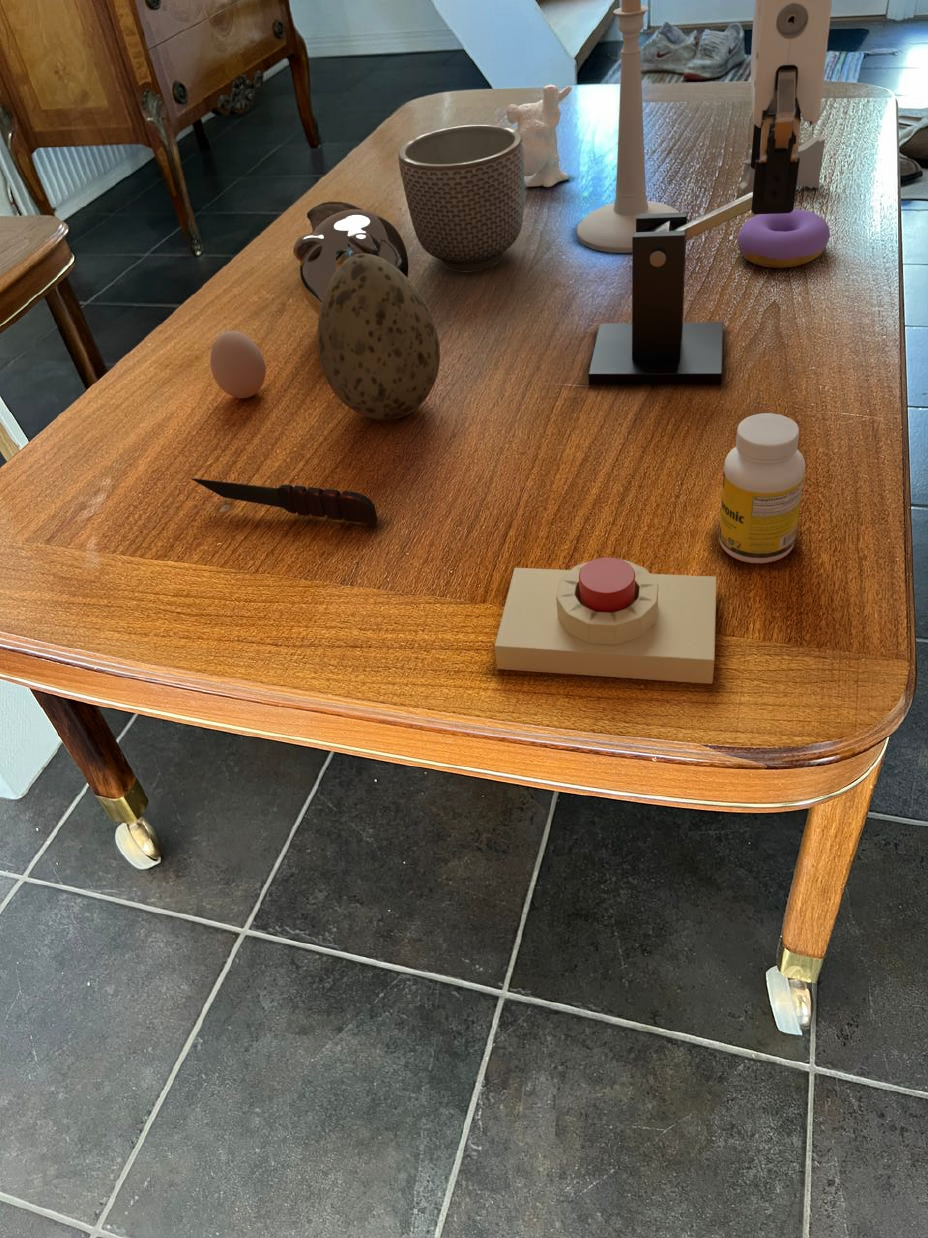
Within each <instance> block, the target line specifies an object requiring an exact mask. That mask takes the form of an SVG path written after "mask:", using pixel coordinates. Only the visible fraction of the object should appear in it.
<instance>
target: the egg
mask: <svg viewBox="0 0 928 1238" xmlns="http://www.w3.org/2000/svg"><path fill="white" fill-rule="evenodd" d="M210 369H211V373H212V376H213V379H214V381H215V382H216V384H217V386H218V387H219V388H220V390H222V391H223V392H224V393H226V394H227V395H229V396H232V397H233V398H237V399H248V398H251V397H253V396H255V395H256V394H257V393H258V392H259V391H260V389H261V388H262V386H263V384H264V382H265V379H266V373H267V372H266V370H267V369H266V362H265V359H264V357H263V354H262V352H261V350H260V348H259V347H258V346H257V344H256V343H255V342H254V341H253V340H252V338H250V337H249V336H248V335H246V334H245V333H243V332H241V331H237V330H226V331H224V332H222V333H220V334H219V335H218V336H217V337H216V339H215V341H214V342H213V344H212V346H211V352H210Z"/></svg>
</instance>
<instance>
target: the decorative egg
mask: <svg viewBox="0 0 928 1238" xmlns="http://www.w3.org/2000/svg"><path fill="white" fill-rule="evenodd" d="M317 350H318V357H319V362H320V366H321V369H322V372H323V374H324V377H325V379H326V381H327V384H328V385H329V387H330V389H331V390H332V392H333V393H334V395H335V396H336V397H337V398H338V399H339V400H340V401H341V402H342V403H343V404H344V405H345V406H346V407H348V408H349V409H351V410H352V411H353V412H355V413H357V414H359V415H361V416H363V417H366V418H369V419H372V420H378V421H379V420H380V421H387V420H388V421H389V420H391V421H392V420H396V419H399V418H402V417H405V416H407V415H409V414H410V413H412V412H413V411H415V410H417V408H419V407H420V406H421V405H422V404H423V403H424V401H425V400H426V399H427V398H428V396H429V395H430V393H431V392H432V390H433V388H434V386H435V383H436V381H437V378H438V375H439V370H440V363H441V347H440V340H439V334H438V330H437V327H436V324H435V321H434V319H433V316H432V313H431V311H430V309H429V307H428V306H427V303H426V301H425V300H424V298H423V296H422V295H421V294H420V292H419V290H418V289H417V288H416V287H415V285H414V284H413V282H412V281H411V280H410V279H409V277H408V278H407V277H406V276H405V275H404V274H403V273H402V272H401V271H400V270H399V269H397V268H396V267H395V266H394V265H392V264H391V263H389V262H388V261H386V260H385V259H383V258H381V257H378V256H375V255H372V254H357V255H354V256H351V257H350V258H348V259H347V260H345V261H344V262H343V263H342V264H341V265H340V266H339V268H338V269H337V270H336V271H335V273H334V274H333V276H332V278H331V280H330V281H329V284H328V286H327V288H326V290H325V293H324V296H323V299H322V303H321V307H320V313H319V315H318V320H317Z"/></svg>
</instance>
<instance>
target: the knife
mask: <svg viewBox="0 0 928 1238" xmlns="http://www.w3.org/2000/svg"><path fill="white" fill-rule="evenodd" d="M191 480H192V481H194V482H195V483H197V484H199V485H201V486H202V487H204V488H206V489H208V490H210V492H214V493H215V494H217V495H218V496H219V497H221V498H223V499H224V498H225V499H231V500H235V501H241V502H247V503H252V504H258V505H264V506H269V507H275V508H280V509H281V508H282V509H284V510H285V511H286V512H287V513H290V514H293V515H296V514H297V515H299V516H305V517H309V516H311V517H315V518H325V517H326V518H328V519H329V520H335V521H336V520H337V521H342V520H344V521H346V522H349V523H350V522H351V523H362V524H364V525H366V526H368V527H369V528H371V529H373V528H374V527H375V526H376V524H377V523H378V521H379V518H378V515H377V510H376V506H375V504H374V502H373V501H372V499H370V498H369V497H367V496H366V495H364V494H363V493H359V492H356V491H352V490H351V491H350V490H342V492H341V491H340V490H339V489H333V488H325V489H323V488H321V487H314V486H308V487H306V486H305V485H294V486H293V484H281V485H280V486H279V487H273V486H272V487H271V486H264V485H263V486H262V485H255V484H246V483H237V482H230V481H229V482H228V481H220V480H212V479H203V478H191Z"/></svg>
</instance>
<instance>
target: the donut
mask: <svg viewBox="0 0 928 1238" xmlns="http://www.w3.org/2000/svg"><path fill="white" fill-rule="evenodd" d="M830 232H831V230H830V227H829V224H828V223H827V221H826V220H825V219H824V218H823V217H822V216H820V215H819V214H817V213H815V212H812V211H810V210H805V209H799V208H794V209H793V211H792V212H791V213H783V214H755V216H753V217H751V218H749V219H748V220H747V221H745V223H744V224H743V225H742V226H741V228H740V231H739V232H738V234H737V236H736V238H737V246H738V249H739V251H740V252H739V253H741V255H742V256H743V257H744V259H746V260H747V261H749V262H750V263H752V264H754V265H757V266H760V267H765V268H774V269H775V268H776V269H777V268H778V269H784V268H794V267H798V266H801V265H802V266H803V265H805V264H807V263H809V262H812V261H814V260H815V259H816V258H819V256H820V255H822V254H823V252H824V250H825V249H826V247H827V245H828V243H829V241H830V238H831V233H830Z"/></svg>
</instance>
